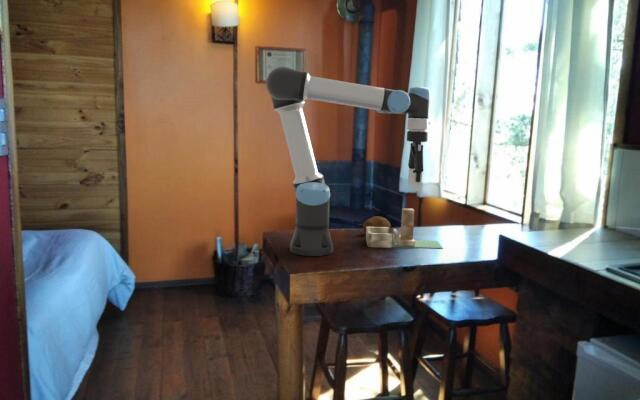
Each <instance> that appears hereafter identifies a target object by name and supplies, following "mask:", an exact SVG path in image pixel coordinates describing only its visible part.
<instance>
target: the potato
mask: <svg viewBox="0 0 640 400" xmlns="http://www.w3.org/2000/svg"><path fill="white" fill-rule="evenodd" d="M366 227H389V230H390V229H391V223H390V221H389V219H387V218H386V217H383V216H378V215H376V216H372V217H370V218H367V219H366V220H365V221H364V222H363V224H362V230H363V232H364V234H366Z"/></svg>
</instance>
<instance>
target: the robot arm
mask: <svg viewBox="0 0 640 400" xmlns="http://www.w3.org/2000/svg"><path fill="white" fill-rule="evenodd" d="M266 77H267V78H266V80H265V84H266V87H265V88H266V89H267V92H268V94H269V95H270V98H271V103H272V105H273V106H272V107H273V110H274V111H275V112H276V113H278V114H279V116H280V120H281V125H282V129H283V132H284V136H285V140H286V144H287V149H288V153H289V157H290V159H291V164H292V168H293V172H294V176H295V178H294V180H293V182H292V185H293V189H294V192H295V229H294V232H293V234H292V235H293V236H292V238H291V241H290V243H289V246H290V247H289V251H290V253H293V254H295V255H299V256H304V257H305V256H307V257H318V256H319V257H320V256H321V257H323V256H327V255H330V254H332V253H333V252H334V244H333V240H332V237H331V234H330V229H329V227H330V226H329V225H330V198H331V192H330V191H331V190H330V187H329V186H328V185H327V184H326V181H325V178H324V175H323V174H322V173H321V172H319V171H318V166H317V163H316V157H315V154H314V150H313V146H312V141H311V138H310V133H309V129H308V126H307V125H308V124H307V119H306V116H305V113H304V109H303V108H304V106H305V104H306V100H310V101H319V102H324V103H331V104H336V105H337V104H338V105H342V106H343V105H344V106H349V107H356V108H362V109H369V110H373V111H374V110H375V111H376V113H377V114H378V113H380V114H384V115H385V114H394V115H395V114H397V115H399V114H403V115H407V122H406V123H407V126H406V128H407V131H406V141H407V142H410V145H409V146H410V147H409V148H410V149H409V157H408V163H407V165H408V174H407V175H408V176H407V186H408V187H412V191H413V192H421V191H422V178H423V172H424V145H423V144H422V143H427V142H428V141H429V140H428V137H429V133H428V130H429V125H430V124H431V122H430V121H429V119H430V106H431V105H430V104H431V90H430V89H429V88H428V87H424V86H423V87H418V86H417V87H415V86H414V87H410V88H409V90H408V92H406V91H404V90H401V89H390V88H384V87H379V86H378V87H377V86H372V85H366V84H360V83H353V82H347V81H343V80H336V79H331V78H326V77H319V76H312V75H310V73H309V72H308V71H302V70H298V69H294V68H291V67H288V66H277V67H275V68H274V69H272V70H271V71H270V72H269V73H268V75H267V76H266Z"/></svg>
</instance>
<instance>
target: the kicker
mask: <svg viewBox="0 0 640 400" xmlns="http://www.w3.org/2000/svg"><path fill="white" fill-rule="evenodd" d="M414 222H415V209H414V208H413V207H412V208H410V207H409V208H405V207H404V208H403V207H402V208H401V222H400V224H401V225H400V233H399V231H398V230H397V228H392V240H393V241H394V243H395V245H399V246H415V240H416V239H414V227H415V226H414V225H415V223H414Z"/></svg>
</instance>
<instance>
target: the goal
mask: <svg viewBox="0 0 640 400" xmlns="http://www.w3.org/2000/svg"><path fill="white" fill-rule="evenodd" d="M389 230H390V229H389V227H366V233H365V241H366V245H367V248H389V249H391V248H392V247H391V245H392V240H393V233H389Z"/></svg>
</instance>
